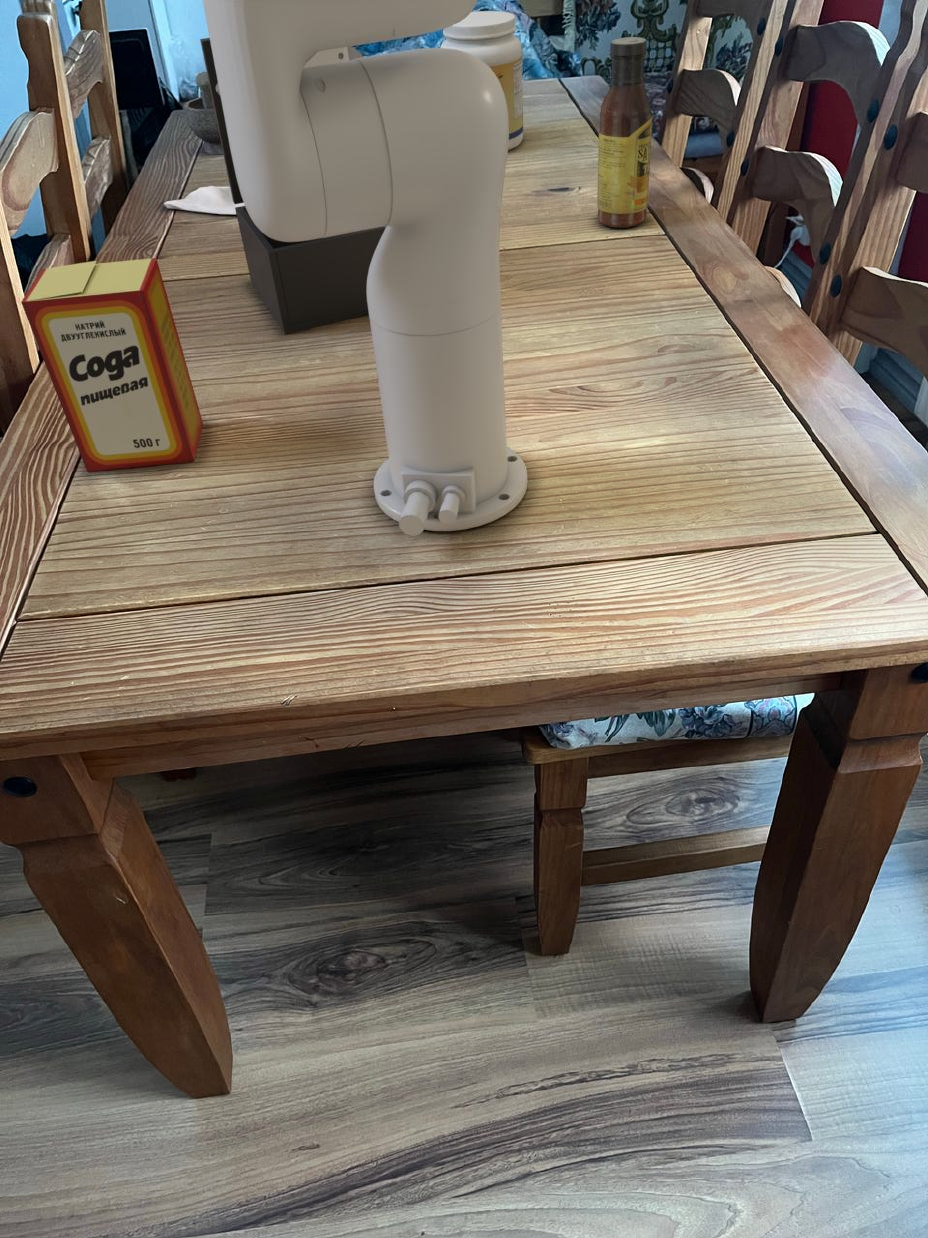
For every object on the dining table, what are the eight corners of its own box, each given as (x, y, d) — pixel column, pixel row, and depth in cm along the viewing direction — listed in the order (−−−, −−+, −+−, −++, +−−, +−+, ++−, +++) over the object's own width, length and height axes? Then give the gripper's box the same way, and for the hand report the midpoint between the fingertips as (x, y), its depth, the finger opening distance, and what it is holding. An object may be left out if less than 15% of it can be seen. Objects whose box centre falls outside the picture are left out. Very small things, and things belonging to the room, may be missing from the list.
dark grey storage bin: (403, 306, 107) (394, 225, 101) (284, 334, 103) (268, 252, 97) (359, 259, 118) (349, 183, 112) (251, 283, 114) (234, 207, 108)
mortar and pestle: (197, 142, 160) (178, 61, 152) (254, 136, 161) (238, 55, 153) (191, 162, 152) (171, 78, 144) (251, 156, 152) (234, 71, 144)
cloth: (152, 223, 132) (147, 206, 130) (174, 190, 142) (170, 173, 141) (340, 210, 131) (338, 192, 130) (348, 177, 141) (346, 160, 140)
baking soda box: (203, 423, 90) (155, 253, 79) (194, 460, 85) (141, 285, 74) (101, 433, 90) (40, 264, 79) (87, 471, 85) (19, 297, 74)
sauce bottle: (645, 230, 118) (655, 46, 105) (594, 230, 119) (598, 47, 106) (648, 211, 123) (658, 32, 110) (599, 211, 124) (603, 34, 111)
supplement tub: (435, 156, 146) (424, 27, 135) (458, 132, 155) (450, 8, 143) (513, 157, 143) (509, 26, 132) (532, 133, 151) (530, 7, 140)
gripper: (185, -35, 81) (233, 186, 93) (377, -62, 86) (399, 154, 98) (170, -46, 87) (217, 165, 99) (352, -70, 91) (376, 135, 103)
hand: (307, 158), depth 98 cm, fingers closed on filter, 5 cm apart
